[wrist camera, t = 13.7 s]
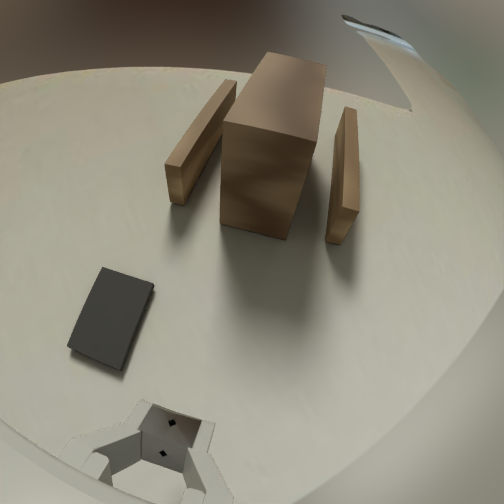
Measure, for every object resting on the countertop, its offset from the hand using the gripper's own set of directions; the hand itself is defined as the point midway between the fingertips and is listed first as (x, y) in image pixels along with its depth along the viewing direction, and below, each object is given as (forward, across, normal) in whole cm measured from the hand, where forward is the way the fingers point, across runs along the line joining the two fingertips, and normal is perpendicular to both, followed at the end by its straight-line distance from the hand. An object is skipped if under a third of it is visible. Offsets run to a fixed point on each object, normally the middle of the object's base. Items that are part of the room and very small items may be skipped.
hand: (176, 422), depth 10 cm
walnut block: (+18, 0, -10) cm, 21 cm away
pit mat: (+7, +7, +1) cm, 10 cm away
